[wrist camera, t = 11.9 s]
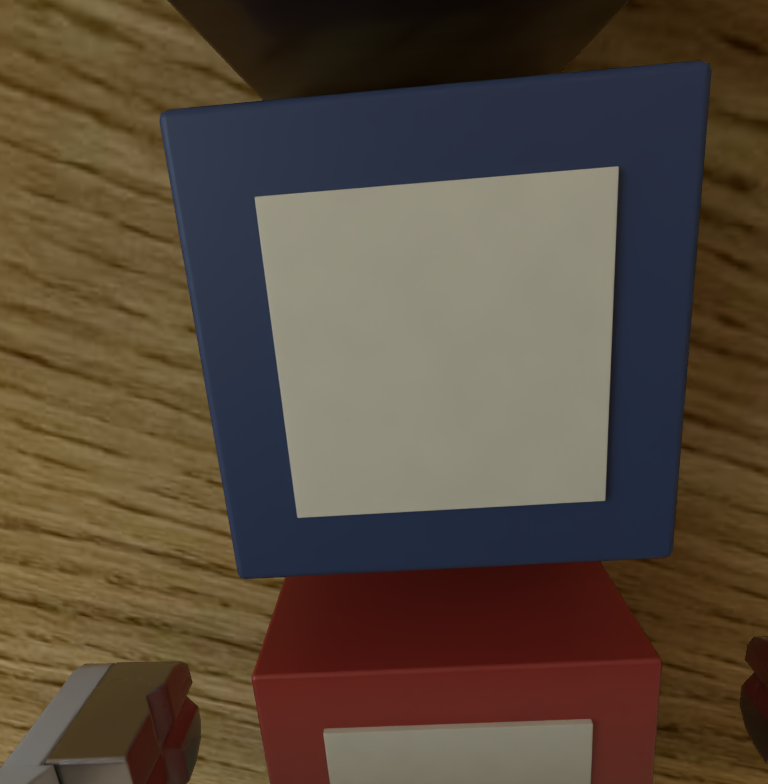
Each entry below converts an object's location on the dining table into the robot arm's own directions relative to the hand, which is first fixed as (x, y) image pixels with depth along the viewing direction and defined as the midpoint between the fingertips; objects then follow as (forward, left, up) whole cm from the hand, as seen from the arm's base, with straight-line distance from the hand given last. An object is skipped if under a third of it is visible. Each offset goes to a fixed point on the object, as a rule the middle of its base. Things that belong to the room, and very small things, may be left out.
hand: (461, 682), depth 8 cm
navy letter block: (-5, 0, -3) cm, 6 cm away
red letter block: (0, 0, -3) cm, 3 cm away
